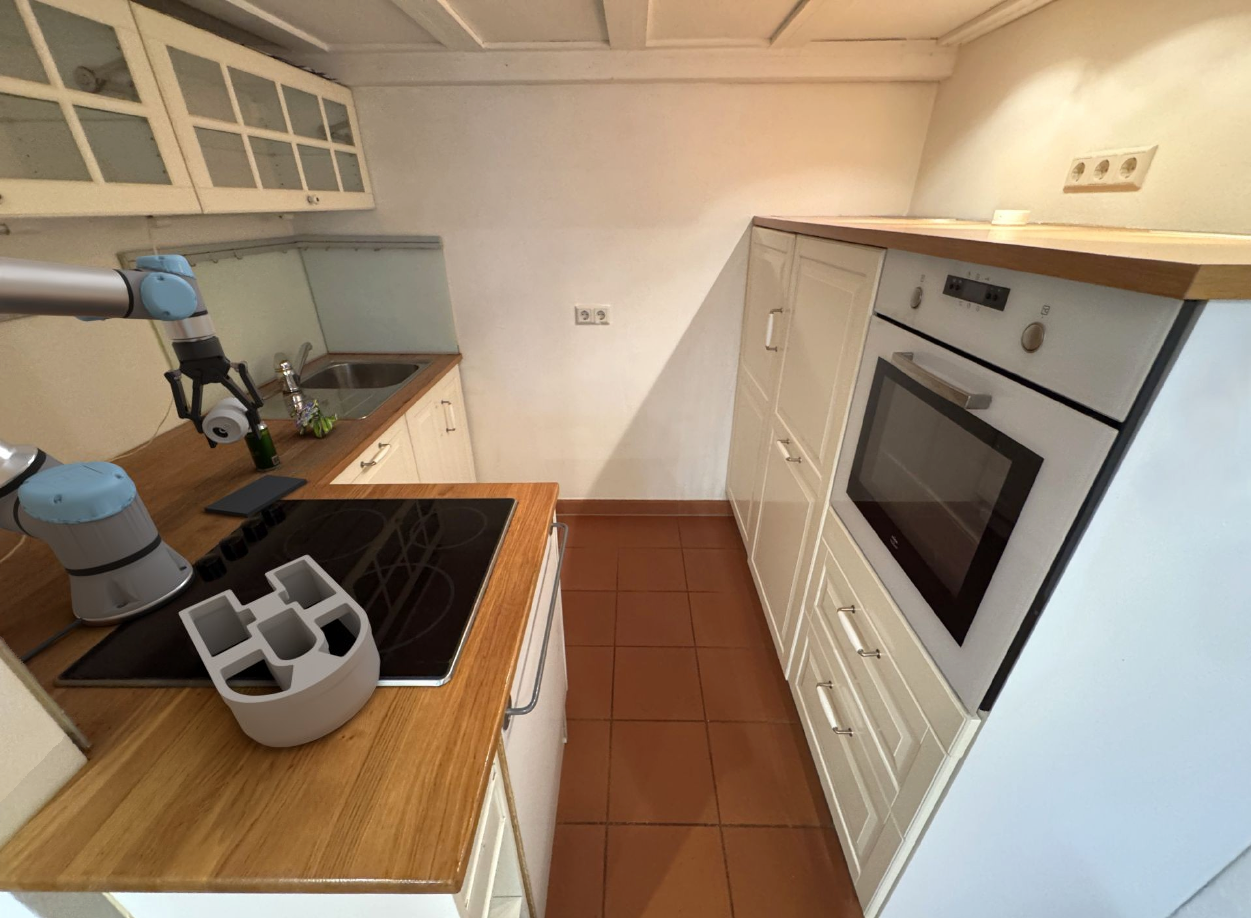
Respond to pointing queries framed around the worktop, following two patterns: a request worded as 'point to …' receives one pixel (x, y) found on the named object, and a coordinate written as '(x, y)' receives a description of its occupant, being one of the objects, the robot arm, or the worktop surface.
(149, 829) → the worktop surface
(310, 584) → the desk organizer caddy
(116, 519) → the robot arm
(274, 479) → the mat
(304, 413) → the purple flowering plant
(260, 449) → the beer can
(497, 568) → the worktop surface
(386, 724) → the worktop surface
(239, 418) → the can
